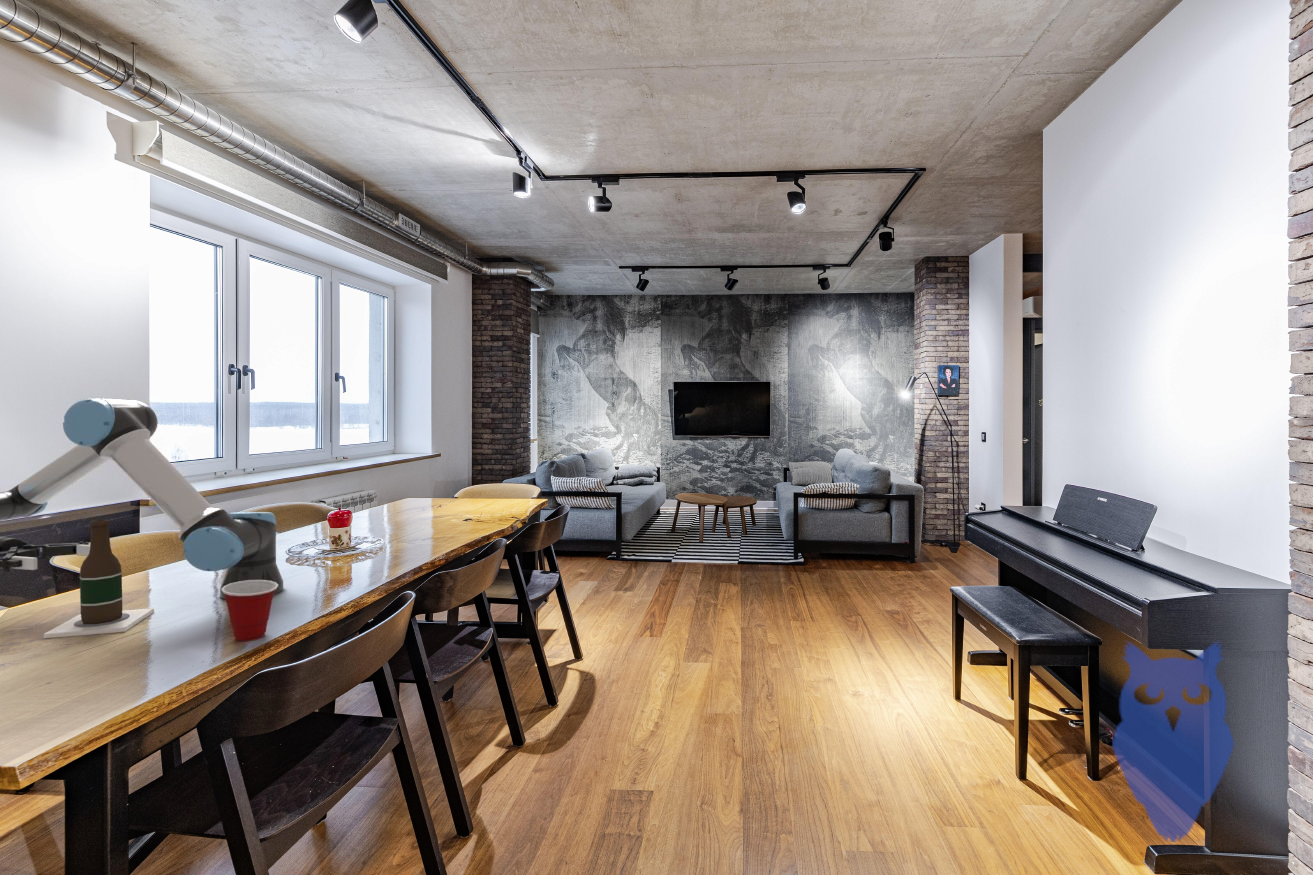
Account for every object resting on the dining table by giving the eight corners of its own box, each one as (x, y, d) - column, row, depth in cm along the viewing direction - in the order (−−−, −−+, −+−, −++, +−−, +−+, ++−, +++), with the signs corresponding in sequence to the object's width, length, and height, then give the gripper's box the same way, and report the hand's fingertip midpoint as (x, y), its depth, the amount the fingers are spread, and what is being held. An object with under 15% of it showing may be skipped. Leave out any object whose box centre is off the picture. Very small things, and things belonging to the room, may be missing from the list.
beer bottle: (131, 616, 151) (129, 518, 150) (93, 626, 143) (90, 523, 143) (110, 612, 153) (108, 516, 153) (71, 622, 146) (69, 521, 145)
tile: (154, 611, 158) (154, 607, 158) (125, 631, 144) (125, 626, 144) (81, 617, 153) (80, 612, 153) (43, 638, 139) (43, 633, 139)
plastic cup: (251, 647, 135) (250, 593, 134) (209, 643, 137) (208, 589, 136) (290, 630, 145) (289, 580, 145) (251, 627, 148) (250, 577, 147)
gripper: (58, 556, 166) (122, 560, 162) (-67, 580, 142) (5, 586, 138) (57, 528, 166) (121, 532, 162) (-68, 548, 142) (4, 552, 137)
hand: (68, 557), depth 150 cm, fingers open, 13 cm apart
